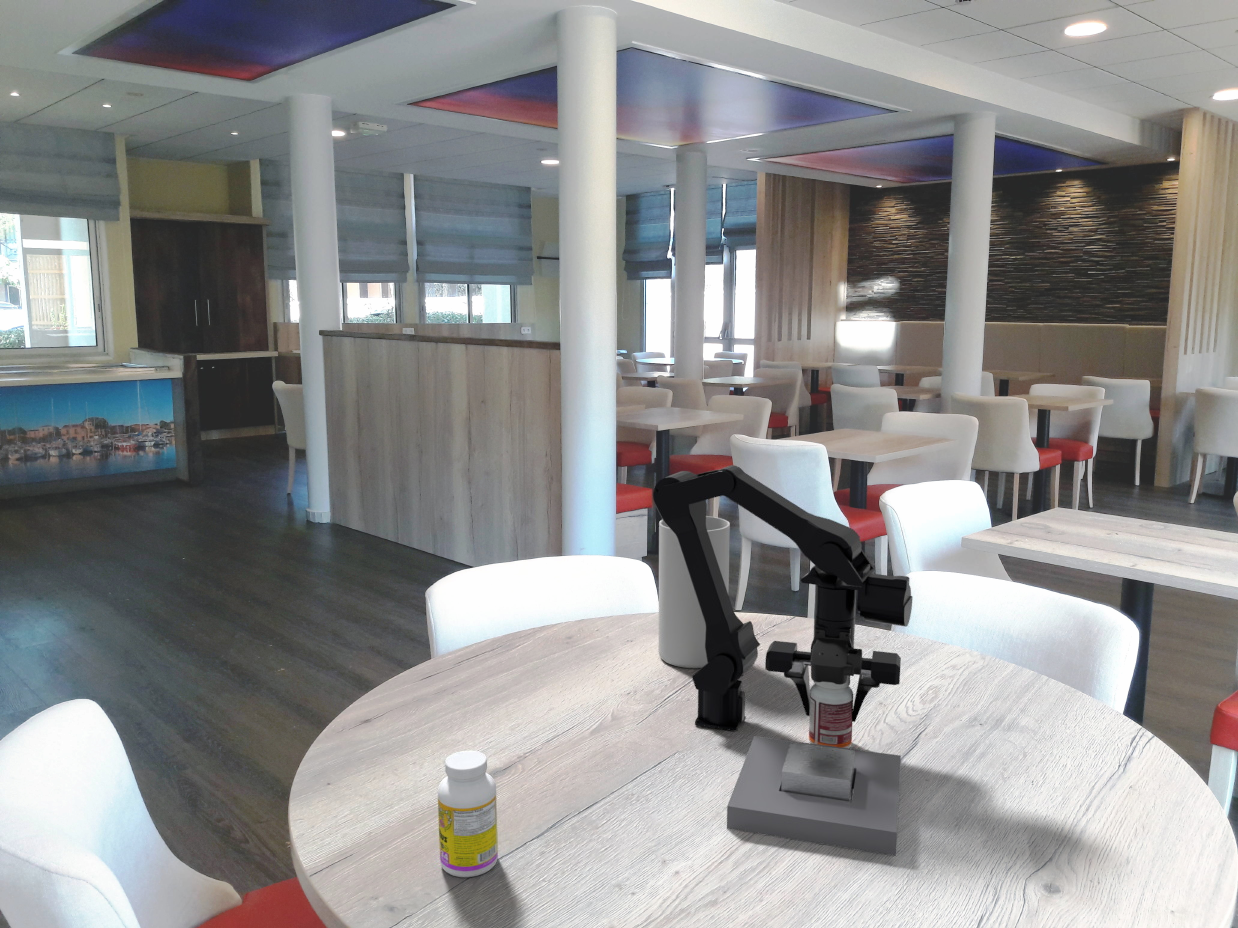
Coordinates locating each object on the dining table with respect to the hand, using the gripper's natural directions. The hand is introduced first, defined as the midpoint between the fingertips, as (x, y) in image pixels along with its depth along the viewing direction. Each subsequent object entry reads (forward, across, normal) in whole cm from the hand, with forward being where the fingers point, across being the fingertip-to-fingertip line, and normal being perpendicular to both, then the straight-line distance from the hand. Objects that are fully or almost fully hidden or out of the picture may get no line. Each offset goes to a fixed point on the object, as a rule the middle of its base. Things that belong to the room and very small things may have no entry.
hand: (830, 717), depth 140 cm
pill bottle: (+4, 0, 0) cm, 4 cm away
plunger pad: (+1, 0, -17) cm, 17 cm away
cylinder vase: (+4, -27, +28) cm, 39 cm away
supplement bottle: (+4, -37, -43) cm, 57 cm away
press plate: (+4, 0, -17) cm, 17 cm away
